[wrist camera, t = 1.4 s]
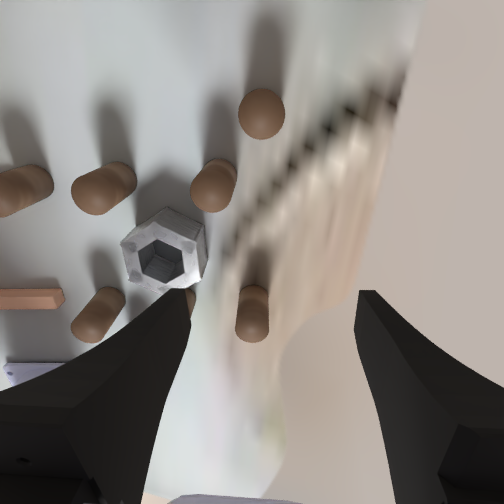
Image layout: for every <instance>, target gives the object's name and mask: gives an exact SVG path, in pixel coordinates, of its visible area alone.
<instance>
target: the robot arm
mask: <svg viewBox="0 0 504 504" xmlns="http://www.w3.org/2000/svg"><path fill="white" fill-rule="evenodd" d="M190 330H191V320H190V314H189V309H188V303H187V298H186V292H185V288H170V289H169V290H168V291H167V292H165V293H164V294H163V295H162V296H161V297H160V298H159V299H157V300H156V301H155V302H154V303H153V304H152V305H151V306H149V307H148V308H147V309H146V310H145V311H144V312H142V313H141V314H140V315H139V316H138V317H136V318H135V319H134V320H132V321H131V322H130V323H129V324H127V325H126V326H125V327H123V328H122V329H121V330H119V331H118V332H117V333H115V334H114V335H112V336H111V337H110V338H108V339H106V340H105V341H103V342H102V343H100V344H99V345H97V346H96V347H94V348H92V349H91V350H89V351H87V352H85V353H83V354H82V355H80V356H78V357H76V358H75V359H73V360H71V361H69V362H67V363H7V364H5V365H4V366H3V370H4V372H5V374H6V376H7V378H8V379H9V381H10V383H11V385H12V387H11V388H8V389H5V390H3V391H0V504H141V500H142V495H143V490H144V485H145V481H146V477H147V472H148V468H149V463H150V459H151V455H152V451H153V447H154V443H155V439H156V435H157V431H158V427H159V423H160V420H161V416H162V412H163V409H164V405H165V402H166V399H167V396H168V393H169V391H170V388H171V386H172V383H173V380H174V378H175V375H176V373H177V370H178V368H179V365H180V362H181V360H182V357H183V354H184V352H185V349H186V346H187V342H188V338H189V334H190ZM354 333H355V339H356V344H357V349H358V353H359V356H360V359H361V363H362V366H363V369H364V372H365V375H366V378H367V381H368V384H369V387H370V390H371V393H372V396H373V399H374V402H375V406H376V409H377V413H378V417H379V421H380V426H381V430H382V435H383V439H384V444H385V449H386V454H387V459H388V464H389V469H390V475H391V480H392V485H393V491H394V496H395V502H396V504H504V388H503V387H501V386H500V385H498V384H496V383H494V382H492V381H490V380H489V379H487V378H485V377H483V376H482V375H480V374H478V373H477V372H475V371H474V370H472V369H470V368H468V367H467V366H465V365H464V364H462V363H461V362H459V361H457V360H456V359H455V358H453V357H452V356H450V355H449V354H447V353H446V352H445V351H443V350H442V349H440V348H439V347H438V346H436V345H435V344H434V343H432V342H431V341H430V340H429V339H427V338H426V337H425V336H424V335H423V334H421V333H420V332H419V331H418V330H416V329H415V328H414V327H413V326H412V325H411V324H410V323H408V322H407V321H406V320H405V319H404V318H403V317H402V316H401V315H400V314H399V313H397V311H395V309H394V308H392V307H391V306H390V305H389V304H388V303H387V302H386V301H385V300H384V299H383V298H382V297H381V296H380V295H379V294H378V293H377V292H376V291H375V290H359V296H358V303H357V310H356V317H355V324H354ZM168 504H301V503H296V502H291V501H283V500H271V499H257V498H244V497H230V496H216V495H202V494H195V495H182V496H180V497H178V498H176V499H174V500H172V501H171V502H169V503H168Z"/></svg>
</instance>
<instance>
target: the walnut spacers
mask: <svg viewBox="0 0 504 504" xmlns="http://www.w3.org/2000/svg"><path fill="white" fill-rule="evenodd" d="M238 118H239V123H240V125H241V127H242V129H243V130H244V132H245V133H246V134H247V135H249V136H250V137H252V138H255V139H259V140H263V139H268V138H271V137H273V136H274V135H275V134H277V133H278V132H279V130H280V129H281V127H282V125H283V123H284V119H285V109H284V105H283V102H282V101H281V99H280V98H279V96H278V95H277V94H275V93H274V92H272V91H270V90H268V89H256V90H254V91H251V92H250V93H248V94H247V95H246V96H245V97H244V98H243V100H242V102H241V104H240V106H239V111H238ZM236 182H237V173H236V170H235V168H234V166H233V165H232V164H231V163H230V162H228V161H227V160H224V159H213V160H211V161H209V162H208V163H207V164H206V165H205V166H204V168H203V169H202V170H201V171H200V172H199V174H198V175H197V176H196V177H195V178H194V180H193V181H192V183H191V187H190V195H191V198H192V200H193V202H194V204H195V205H196V206H197V207H198V208H200V209H201V210H203V211H206V212H210V213H214V212H219V211H221V210H223V209H225V208H226V207H227V206H228V204H229V203H230V200H231V197H232V194H233V191H234V188H235V185H236ZM136 186H137V178H136V175H135V173H134V171H133V170H132V169H131V168H130V167H129V166H128V165H126V164H124V163H121V162H112V163H109V164H107V165H105V166H103V167H101V168H98V169H96V170H94V171H92V172H89V173H87V174H85V175H83V176H80V177H78V178H77V179H76V180H75V181H74V182H73V184H72V187H71V194H72V198H73V200H74V202H75V204H76V205H77V206H78V207H79V208H80V209H81V210H82V211H84V212H86V213H88V214H91V215H102V214H105V213H106V212H108V211H109V210H110V209H112V208H113V207H114V206H116V205H117V204H118V203H120V202H121V201H122V200H124V199H125V198H126V197H128V196H129V195H130V194H132V193H133V192H134V191H135V189H136ZM53 190H54V183H53V180H52V178H51V176H50V175H49V173H48V172H47V171H46V170H45V169H43V168H42V167H40V166H37V165H26V166H22V167H19V168H16V169H12V170H9V171H6V172H2V173H0V217H6V216H9V215H11V214H13V213H15V212H17V211H19V210H21V209H23V208H26V207H28V206H30V205H32V204H34V203H36V202H38V201H40V200H42V199H45V198H47V197H49V196H50V195H51V194H52V192H53ZM185 292H186V298H187V303H188V309H189V314H190V318H191V315H192V312H193V309H194V306H195V303H196V296H195V294H194V293H193V291H192V290H190V289H189V288H185ZM124 305H125V297H124V295H123V294H122V293H121V292H120V291H119V290H117V289H115V288H112V287H104V288H101V289H100V290H99V291H98V292H97V293H96V294H95V296H94V297H93V298H92V299H91V300H90V302H89V303H88V304H87V305H86V306H85V308H84V309H83V310H82V311H81V312H80V313H79V315H78V316H77V317H76V318H75V319H74V321H73V322H72V324H71V331H72V333H73V334H74V336H75V337H76V338H78V339H79V340H81V341H83V342H86V343H97V342H99V341H101V340H102V339H103V337H104V336H105V334H106V333H107V331H108V330H109V328H110V327H111V325H112V324H113V322H114V321H115V319H116V317H117V316H118V314H119V313H120V311H121V310H122V308H123V307H124ZM235 332H236V334H237V336H238V337H239V338H240V339H241V340H243V341H245V342H250V343H256V342H260V341H262V340H263V339H265V338H266V337H267V335H268V333H269V308H268V294H267V292H266V290H265V289H264V288H262V287H260V286H257V285H250V286H247V287H245V288H243V289H242V290H241V292H240V294H239V302H238V310H237V318H236V326H235Z"/></svg>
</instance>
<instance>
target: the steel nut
mask: <svg viewBox="0 0 504 504" xmlns="http://www.w3.org/2000/svg"><path fill="white" fill-rule="evenodd" d="M156 239H158V240H160V241H162V242H165V243H167V244H169V245H171V246H173V247H175V248H177V249H179V250H182V256H183V260H182V261H180V262H178V263H173V262H171V261H169V260H167V259H165V258H163V257H160V256H158V255H156V254H155V249H154V244H153V241H155V240H156ZM120 246H121V247H122V251H123V255H124V260H125V264H126V268H127V272H128V276H129V280H128V281H130V282H133V283H135V284H138V285H140V286H142V287H144V288H147V289H149V290H151V291H154V292H156V293H158V294H160V295H163V294H164V293H165V292H167V291H168V290H169V289H170V288H187V287H189V286H190V285H192V284H194V283H196V282H198V281H201V279H202V277H203V274H204V271H205V268H206V265H207V262H208V258H207V253H206V244H205V235H204V225H203V224H200V223H198V222H196V221H194V220H191V219H189V218H187V217H185V216H183V215H181V214H179V213H177V212H175V211H173V210H171V209H170V208H169V207H165V208H164V209H163V210H162V211H161V212H159V213H158V214H156V215H154V216H153V217H151V218H150V219H148V220H147V221H145V222H144V223H142V224H140V225H137V226H136V227H135V228H134V229H133V230H132V231H131V232H130V233H129V234H128V235H127V236H126V237H125V238H124V239H123V240H122V241H121V242H120Z"/></svg>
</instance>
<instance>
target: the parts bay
mask: <svg viewBox="0 0 504 504" xmlns="http://www.w3.org/2000/svg"><path fill="white" fill-rule="evenodd" d="M64 301H65V298H64V295H63V293H62V290H61V288H60V289H0V310H1V309H58V307H59V306H60V305H61V304H62V303H63V302H64Z"/></svg>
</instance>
